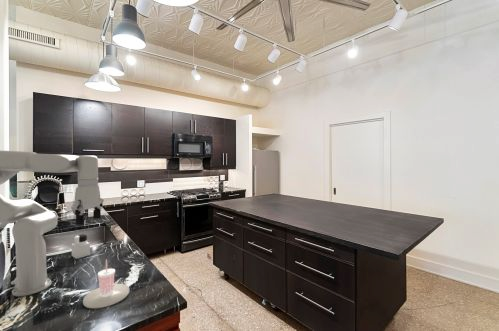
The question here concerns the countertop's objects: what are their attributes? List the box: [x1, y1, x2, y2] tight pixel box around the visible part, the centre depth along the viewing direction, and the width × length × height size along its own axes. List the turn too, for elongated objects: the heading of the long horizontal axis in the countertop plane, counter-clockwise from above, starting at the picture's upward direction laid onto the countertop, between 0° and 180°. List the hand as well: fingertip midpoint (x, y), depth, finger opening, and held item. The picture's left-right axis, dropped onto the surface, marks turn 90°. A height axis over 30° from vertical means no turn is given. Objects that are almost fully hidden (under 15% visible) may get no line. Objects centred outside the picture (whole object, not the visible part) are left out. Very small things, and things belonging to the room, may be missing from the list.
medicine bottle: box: [71, 233, 91, 260], centre depth 137 cm, size 7×7×12 cm
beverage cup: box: [97, 258, 116, 297], centre depth 95 cm, size 6×6×14 cm
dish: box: [82, 283, 130, 309], centre depth 95 cm, size 16×16×1 cm
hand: (88, 221), depth 105 cm, fingers open, 9 cm apart
